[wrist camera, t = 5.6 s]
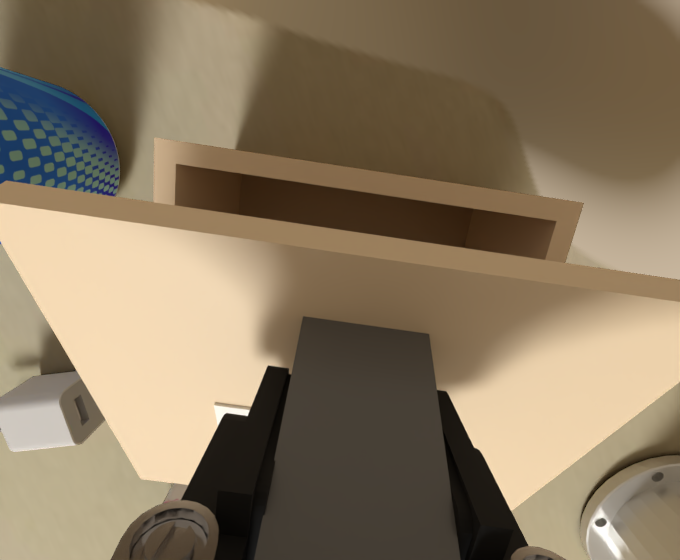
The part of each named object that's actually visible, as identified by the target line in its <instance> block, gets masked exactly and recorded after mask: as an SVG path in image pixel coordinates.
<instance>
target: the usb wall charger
mask: <svg viewBox="0 0 680 560" xmlns="http://www.w3.org/2000/svg"><path fill="white" fill-rule="evenodd" d="M105 420H106V419H105V418H104V416H103V414H102V413H101V411H100V409H99V407H98V406H97V404H96V402H95V401H94V399H93V397H92V396H91V394H90V392H89V391H88V389H87V387H86V385H85V384H84V382H83V380H82V379H81V377H80V375H79V374H78V372H77V371H73V372H65V373H56V374H48V375H39V376H33V377H31V378H30V379H28V380H27V381H25V382H24V383H22V384H20V385H19V386H17V387H16V388H14V389H13V390H11V391H9V392H8V393H6V394H5V395H3V396H2V397H0V432H2V433H3V435H4V437H5V440H6V442H7V444H8V447H9V449H10V450H11V451H14V452H17V451H26V450H36V449H45V448H54V447H63V446H72V445H80V444H82V443H83V442H84V441H85V440H86V439H87V438H88V437H89V436H90V435H91V434H92V433H93V432H94V431H95V430H96V429H97V428H98V427H99V426H100V425H101V424H102V423H103V422H104V421H105Z"/></svg>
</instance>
